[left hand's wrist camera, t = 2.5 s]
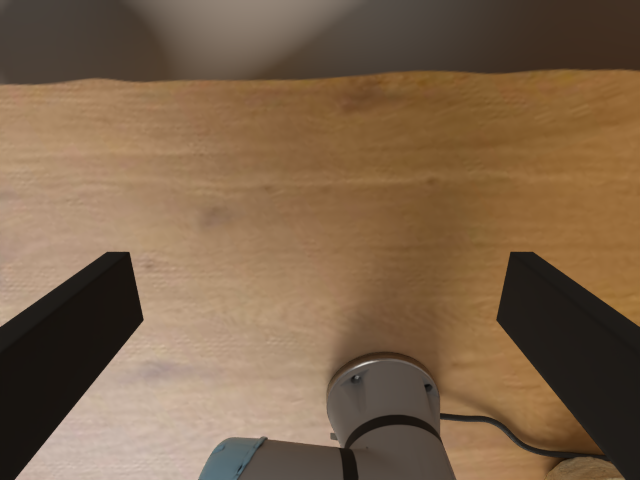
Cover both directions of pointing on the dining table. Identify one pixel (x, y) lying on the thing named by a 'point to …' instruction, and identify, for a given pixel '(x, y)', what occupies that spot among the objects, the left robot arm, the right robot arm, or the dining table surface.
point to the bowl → (584, 470)
